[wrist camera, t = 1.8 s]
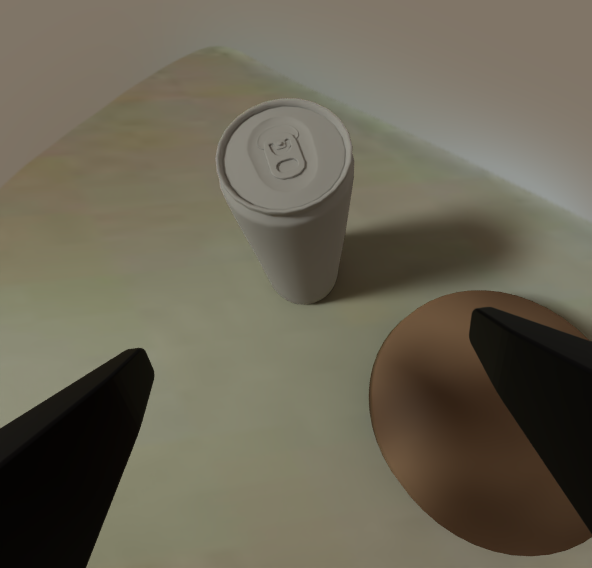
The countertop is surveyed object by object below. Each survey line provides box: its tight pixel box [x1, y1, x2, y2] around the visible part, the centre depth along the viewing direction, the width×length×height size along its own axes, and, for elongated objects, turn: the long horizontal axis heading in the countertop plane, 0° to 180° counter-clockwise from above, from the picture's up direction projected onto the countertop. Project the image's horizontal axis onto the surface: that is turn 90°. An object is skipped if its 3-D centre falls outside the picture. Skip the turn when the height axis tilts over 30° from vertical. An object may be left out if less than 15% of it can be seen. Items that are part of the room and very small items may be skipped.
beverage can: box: [216, 98, 354, 304], centre depth 16 cm, size 5×5×12 cm
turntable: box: [369, 291, 592, 556], centre depth 16 cm, size 12×12×2 cm
